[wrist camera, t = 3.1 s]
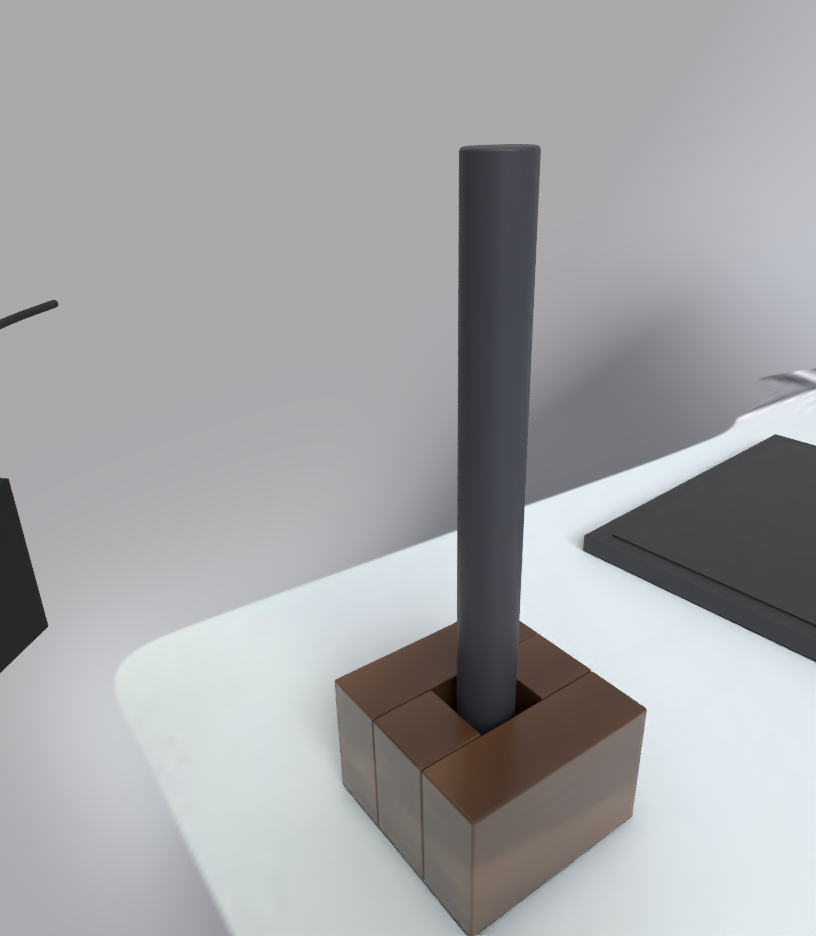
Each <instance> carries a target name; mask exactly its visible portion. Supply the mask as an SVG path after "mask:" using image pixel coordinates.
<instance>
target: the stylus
mask: <svg viewBox="0 0 816 936" xmlns="http://www.w3.org/2000/svg"><path fill="white" fill-rule="evenodd" d="M540 155H541V149H540V146H538V145H529V144H506V145H505V144H503V145H476V146H475V145H474V146H464V147H461V148H460V150H459V291H458V295H459V296H458V297H459V298H458V299H459V300H458V302H459V303H458V307H459V308H458V527H457V714H458V715H460V716H461V717H462V718H463V719H464V720H465V721H466V722H467V723H469V724H470V725H471V726H472V727H473V728H474V729H475V730H476V731H478V732H479V733H480V735H481V736H482V735H484V734H486V733H487V732H489V731H491V730H492V729H494V728H496V727H497V726H499V725H501V724H503V723H504V722H506V721H508V720H509V719H511V718H513V717H514V716H515V702H516V680H517V658H518V636H519V614H520V592H521V570H522V548H523V527H524V505H525V480H526V461H527V439H528V438H527V437H528V417H529V395H530V373H531V350H532V330H533V308H534V286H535V264H536V241H537V219H538V198H539V176H540Z"/></svg>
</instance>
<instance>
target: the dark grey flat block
mask: <svg viewBox="0 0 816 936" xmlns="http://www.w3.org/2000/svg"><path fill="white" fill-rule="evenodd" d="M583 550H584V551H586V552H589V553H591V554H593V555H595V556H597V557H599V558H601V559H603V560H605V561H607V562H609V563H612V564H614V565H616V566H618V567H620V568H622V569H624V570H626V571H628V572H630V573H633V574H635V575H637V576H639V577H641V578H643V579H645V580H647V581H649V582H651V583H653V584H656V585H658V586H660V587H662V588H664V589H666V590H668V591H670V592H672V593H674V594H676V595H679V596H681V597H683V598H685V599H687V600H689V601H691V602H693V603H695V604H697V605H699V606H702V607H704V608H706V609H708V610H710V611H712V612H714V613H716V614H718V615H720V616H722V617H725V618H727V619H729V620H731V621H733V622H735V623H737V624H739V625H741V626H743V627H745V628H748V629H750V630H752V631H754V632H756V633H758V634H760V635H762V636H764V637H766V638H768V639H771V640H773V641H775V642H777V643H779V644H781V645H783V646H785V647H787V648H789V649H791V650H794V651H796V652H798V653H800V654H802V655H804V656H806V657H808V658H810V659H812V660H814V661H816V446H815V445H811V444H808V443H804V442H801V441H797V440H794V439H790V438H787V437H783V436H779V435H776V434H775V435H773V436H771V437H770V438H768V439H766V440H764V441H762V442H760V443H758V444H756V445H754V446H753V447H751V448H749V449H747V450H745V451H743V452H741V453H739V454H737V455H736V456H734V457H732V458H730V459H728V460H726V461H724V462H722V463H720V464H718V465H717V466H715V467H713V468H711V469H709V470H707V471H705V472H703V473H701V474H700V475H698V476H696V477H694V478H692V479H690V480H688V481H686V482H684V483H683V484H681V485H679V486H677V487H675V488H673V489H671V490H669V491H667V492H666V493H664V494H662V495H660V496H658V497H656V498H654V499H652V500H650V501H649V502H647V503H645V504H643V505H641V506H639V507H637V508H635V509H633V510H631V511H630V512H628V513H626V514H624V515H622V516H620V517H618V518H616V519H614V520H613V521H611V522H609V523H607V524H605V525H603V526H601V527H599V528H597V529H596V530H594V531H592V532H590V533H588V534H586V535H585V536H584V547H583Z"/></svg>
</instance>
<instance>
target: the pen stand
mask: <svg viewBox="0 0 816 936" xmlns="http://www.w3.org/2000/svg"><path fill="white" fill-rule="evenodd" d="M335 692H336V704H337V716H338V729H339V741H340V753H341V765H342V778H343V784H344V786H345V787H346V788H347V789H348V790H349V792H350V793H351V794H352V795H353V797H354V798H355V799H356V800H357V801H358V803H359V804H360V805H361V806H362V808H363V809H364V810H365V811H366V812H367V814H368V815H369V816H370V817H371V818H372V820H373V821H374V822H375V823H376V825H377V826H379V827H380V829H381V830H382V831H383V832H384V834H385V835H386V836H387V837H388V839H389V840H390V841H391V842H392V843H393V845H394V846H395V847H396V848H397V850H398V851H399V852H400V853H401V854H402V856H403V857H404V858H405V859H406V860H407V862H408V863H409V864H410V865H411V867H412V868H413V869H414V870H415V871H416V873H417V874H418V875H419V876H420V877H421V879H422V880H424V881H425V883H426V885H427V886H428V887H429V888H430V889H431V891H432V892H433V893H434V894H435V896H436V897H437V898H438V899H439V900H440V902H441V903H442V904H443V905H444V906H445V908H446V909H447V910H448V911H449V913H450V914H451V915H452V916H453V917H454V919H455V920H456V921H457V922H458V923H459V925H460V926H461V927H462V928H463V930H464V931H465V932H466V933H467V934H468V936H476V935H477V934H478V933H480V932H481V931H482V930H484V929H485V928H486V927H488V926H489V925H490V924H491V923H493V922H494V921H495V920H497V919H498V918H499V917H501V916H502V915H503V914H505V913H506V912H507V911H509V910H510V909H511V908H512V907H514V906H515V905H516V904H518V903H519V902H520V901H522V900H523V899H524V898H526V897H527V896H528V895H529V894H531V893H532V892H533V891H535V890H536V889H537V888H539V887H540V886H541V885H543V884H544V883H545V882H546V881H548V880H549V879H550V878H552V877H553V876H554V875H556V874H557V873H558V872H560V871H561V870H562V869H563V868H565V867H566V866H567V865H569V864H570V863H571V862H573V861H574V860H575V859H577V858H578V857H579V856H580V855H582V854H583V853H584V852H586V851H587V850H588V849H590V848H591V847H592V846H594V845H595V844H596V843H597V842H599V841H600V840H601V839H603V838H604V837H605V836H607V835H608V834H609V833H611V832H612V831H613V830H615V829H616V828H617V827H618V826H620V825H621V824H622V823H624V822H625V821H626V820H628V819H629V818H630V817H631V816H632V813H633V806H634V799H635V792H636V784H637V777H638V770H639V763H640V755H641V748H642V741H643V734H644V727H645V719H646V712H647V710H646V708H645V707H643V706H642V705H641V704H639V703H638V702H636V701H635V700H633V699H632V698H630V697H629V696H627V695H626V694H624V693H623V692H622V691H620V690H619V689H617V688H616V687H614V686H613V685H611V684H610V683H608V682H607V681H606V680H604V679H603V678H601V677H600V676H598V675H597V674H595V673H594V672H591V670H590V669H589V668H588V667H586V666H585V665H583V664H582V663H580V662H579V661H577V660H576V659H574V658H573V657H572V656H570V655H569V654H567V653H566V652H564V651H563V650H561V649H560V648H558V647H557V646H556V645H554V644H553V643H551V642H550V641H548V640H547V639H545V638H544V637H542V636H541V635H539V634H537V633H536V632H535V631H534V630H532V629H531V628H529V627H528V626H526V625H525V624H523V623H522V622H520V621H519V636H518V658H517V680H516V702H515V716H514V717H513V718H511V719H509V720H508V721H506V722H504V723H503V724H501V725H499V726H497V727H496V728H494V729H492V730H491V731H489V732H487V733H486V734H484V735H482V736H481V735H480V733H479V732H478V731H476V730H475V729H474V728H473V727H472V726H471V725H470V724H469V723H467V722H466V721H465V720H464V719H463V718H462V717H461V716H460V715H458V714H457V622H456V623H454V624H452V625H450V626H448V627H446V628H444V629H441V630H439V631H437V632H435V633H433V634H431V635H429V636H427V637H425V638H422V639H420V640H418V641H416V642H414V643H412V644H410V645H408V646H406V647H403V648H401V649H399V650H397V651H395V652H393V653H391V654H389V655H387V656H385V657H382V658H380V659H378V660H376V661H374V662H372V663H370V664H368V665H366V666H363V667H361V668H359V669H357V670H355V671H353V672H351V673H349V674H347V675H344V676H342V677H340V678H338V679H336V680H335Z"/></svg>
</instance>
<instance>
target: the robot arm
mask: <svg viewBox="0 0 816 936" xmlns="http://www.w3.org/2000/svg"><path fill="white" fill-rule="evenodd" d="M56 307H58V302H57V301H56V300H51V301H49V302H46V303H43V304H40V305H37V306H34V307H31V308H29V309H26V310H23V311H20V312H18V313H15V314H13V315H10V316H8V317H5V318H3V319H0V329H2V328H4V327H6V326H9V325H11V324H13V323H15V322H18V321H20V320H23V319H26V318H28V317H31V316H34V315H36V314H39V313H42V312H45V311H47V310H50V309H53V308H56ZM47 627H48V623H47V619H46V616H45V612H44V609H43V605H42V601H41V597H40V593H39V590H38V586H37V582H36V579H35V575H34V571H33V568H32V564H31V560H30V557H29V553H28V549H27V545H26V542H25V538H24V534H23V531H22V527H21V524H20V519H19V516H18V512H17V508H16V505H15V501H14V497H13V493H12V490H11V486H10V483H9V479H7V478H0V673H1V672H2V671H3V670H4V669H5V668H6V667H7V666H8V665H9V664H10V663H11V662H12V661H13V660H14V659H15V658H16V657H17V656H18V655H19V654H20V653H21V652H22V651H23V650H24V649H25V648H26V647H27V646H28V645H30V644H31V643H32V642H33V641H34V640H35V639H36V638H37V637H38V636H39V635H40V634H41V633H42V632H43V631H44V630H45V629H46V628H47Z"/></svg>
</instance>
